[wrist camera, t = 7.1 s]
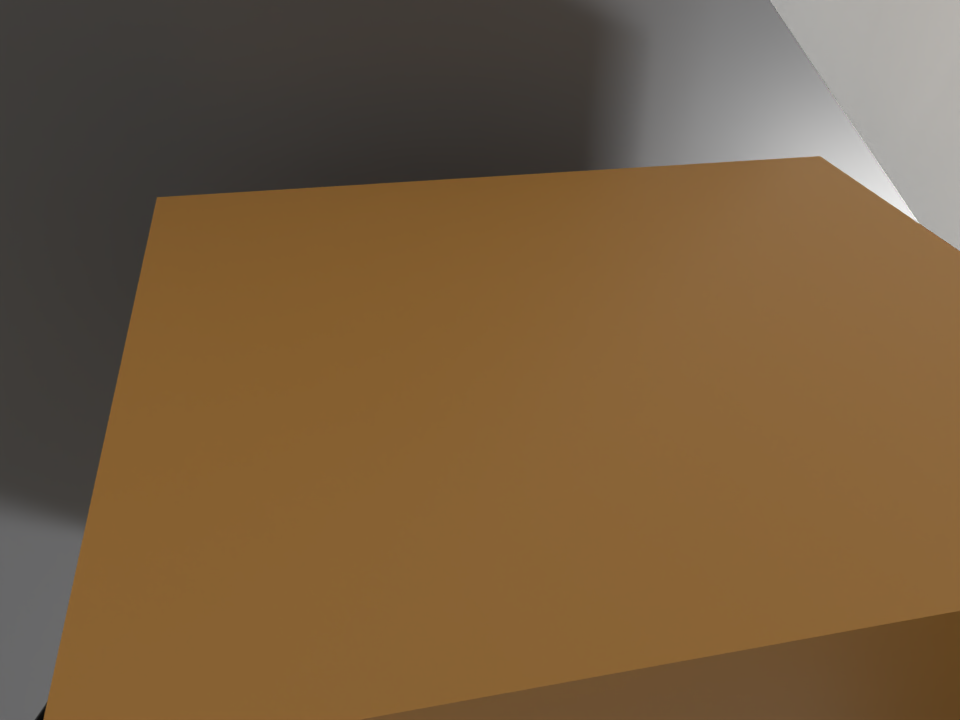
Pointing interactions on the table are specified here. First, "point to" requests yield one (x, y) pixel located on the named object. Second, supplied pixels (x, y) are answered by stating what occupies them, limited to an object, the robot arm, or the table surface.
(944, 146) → the table surface
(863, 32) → the table surface
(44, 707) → the robot arm
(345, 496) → the cardboard cube
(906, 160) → the table surface
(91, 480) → the plate
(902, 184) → the table surface
